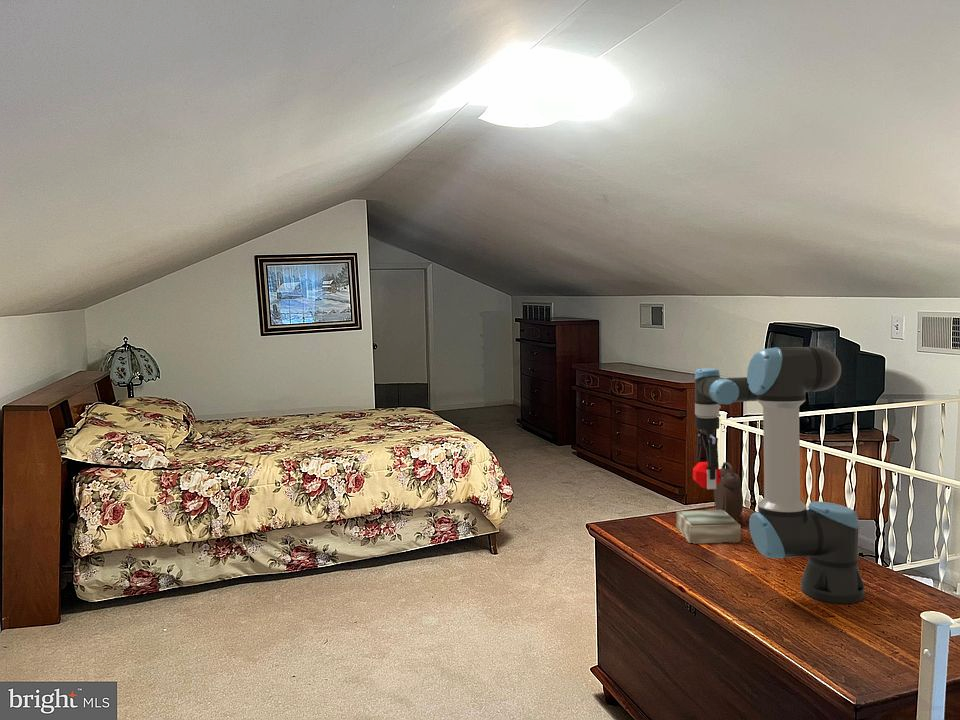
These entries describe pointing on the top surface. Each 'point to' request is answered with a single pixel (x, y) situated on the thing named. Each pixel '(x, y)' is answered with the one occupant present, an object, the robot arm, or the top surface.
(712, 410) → the robot arm
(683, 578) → the top surface
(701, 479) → the ball
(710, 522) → the stand
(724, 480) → the brown backpack
